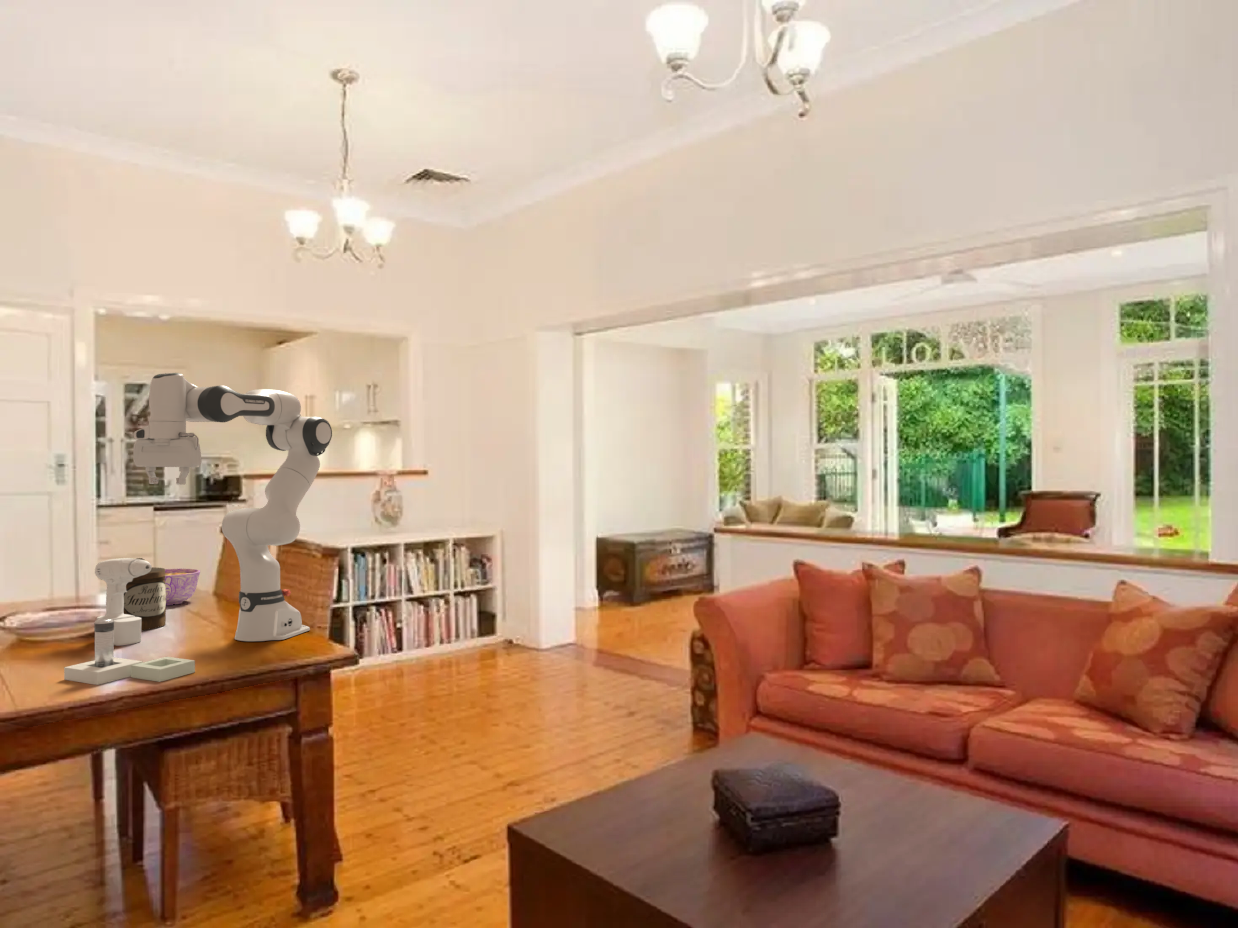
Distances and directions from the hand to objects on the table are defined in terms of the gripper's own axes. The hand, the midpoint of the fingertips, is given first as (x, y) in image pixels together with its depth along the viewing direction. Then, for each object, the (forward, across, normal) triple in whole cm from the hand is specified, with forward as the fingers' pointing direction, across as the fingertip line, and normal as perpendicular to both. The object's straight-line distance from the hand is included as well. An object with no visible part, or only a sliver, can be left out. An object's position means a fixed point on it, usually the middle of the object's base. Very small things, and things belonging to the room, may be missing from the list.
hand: (167, 484), depth 228 cm
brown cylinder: (+47, +44, -31) cm, 72 cm away
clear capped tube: (+47, 0, +18) cm, 51 cm away
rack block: (+47, -12, +12) cm, 50 cm away
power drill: (+47, +28, -12) cm, 57 cm away
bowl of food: (+47, +70, -67) cm, 108 cm away
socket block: (+47, 0, +18) cm, 51 cm away
